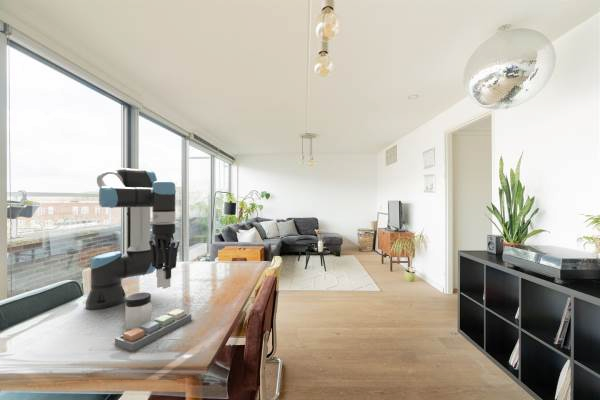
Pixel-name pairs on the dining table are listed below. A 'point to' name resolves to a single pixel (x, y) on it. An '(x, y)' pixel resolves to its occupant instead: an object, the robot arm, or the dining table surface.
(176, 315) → the key cream
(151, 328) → the key slate
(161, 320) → the key sage
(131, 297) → the jar
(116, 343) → the grey compartment tray
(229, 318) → the dining table surface
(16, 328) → the dining table surface
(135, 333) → the key terracotta
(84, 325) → the dining table surface
